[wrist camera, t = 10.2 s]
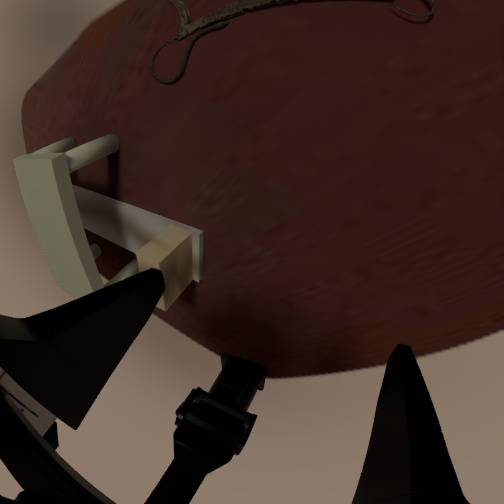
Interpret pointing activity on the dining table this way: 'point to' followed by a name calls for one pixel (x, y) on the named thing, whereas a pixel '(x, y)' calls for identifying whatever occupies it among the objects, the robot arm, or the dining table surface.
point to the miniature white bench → (64, 212)
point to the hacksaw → (220, 25)
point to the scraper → (146, 239)
